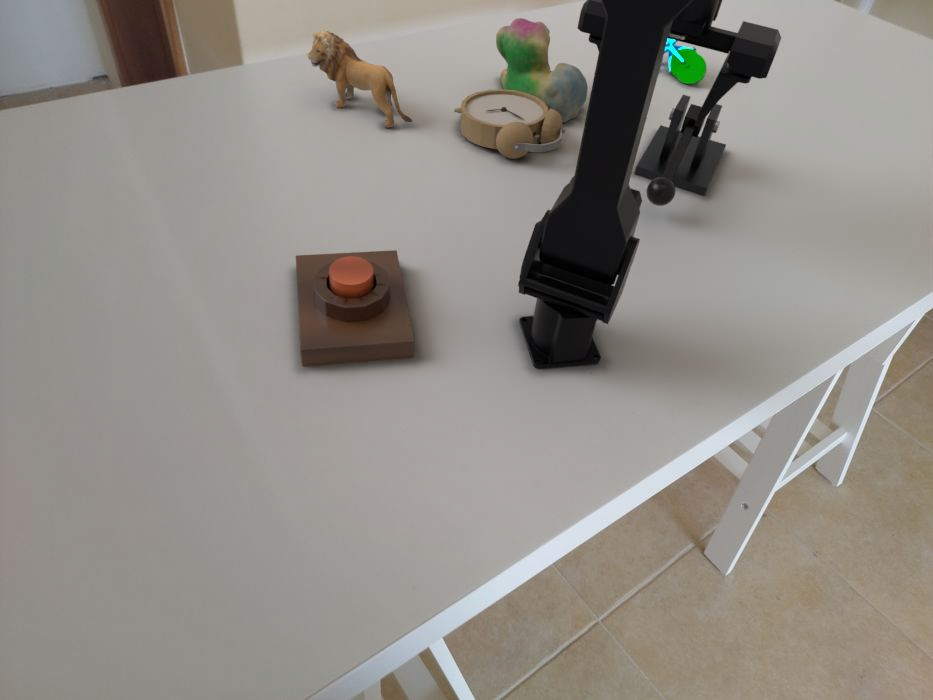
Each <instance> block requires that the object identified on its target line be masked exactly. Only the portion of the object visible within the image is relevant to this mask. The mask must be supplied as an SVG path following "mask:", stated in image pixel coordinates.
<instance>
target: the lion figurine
mask: <svg viewBox="0 0 933 700" xmlns="http://www.w3.org/2000/svg"><path fill="white" fill-rule="evenodd" d="M311 45H312V47H311V50H310V51H309V52H308V53H307V55H306V56H307V58H308V60H309V61H310V62H311V67H314V68H316V67H318V68H319V70H320V71H322V72H323V73H325V74H326V77H327V79H328V80H331V81H333V82H335V86H336V87H335V88H336V91H337V94H338V97H339V100H336V101H335V103H334V106H335V107H336V108H340V109H341V108H344V107H346V106H347V103H348V102H347V100H351V99H353V98H354V94H355V93H354V91H355V88H356V89H357V90H361V91H364V92H366V91H371V95H372V97H373V100H374V101H375V103H376V105H377V107H378V108H379V109H380V111H381V112H382V113H383V114H384V115H385V117H386V119H384V121H383V126H384V127H385V128H388V129H389V128H391V127H393V126H394V124H395V118H394V113H393V111H392V108H393V103H394V106H395V109H396V112H397V113H398V115H399V117H401V119H402V120H403V121H404V122H405V123H412V122H413V119H412V118H411V117H410V116H408V115H407V114H404V113H403V111H402V109H401V106H400V103H399V100H398V94H397V89H396V87H395V83H394V77H393V74H392V73H391V71H390V70H389V69H388V68H387V67H386V66H385V65H384V66H383V65H382V64H381V65H379V64H374V63H371V62H367V61H365V60H363V59H361V58H359V56H358V55H357V54H356V52H355V50H354V49H353V47H352V46H351V45H350V44H349V43H348V42H346V41H345V40H344V38H342V37H340V36H339V35H336V34H334V32H330V31H329V30H328V31H327V30H320V31H318V32H315V33H312V43H311ZM392 100H393V102H392Z"/></svg>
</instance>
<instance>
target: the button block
mask: <svg viewBox="0 0 933 700" xmlns="http://www.w3.org/2000/svg"><path fill="white" fill-rule="evenodd" d="M349 256H353V257H360V258H363V259H365V260H367V261H368V262H369V263H370V264H371V265H372V267H373V280H374V285H373V289H372V291H371V292H370V293H369V294H367V295H365V296H363V297H361V298H350V299H346V298H343V297H340V296H337V295H336V294H334V293H333V292H332V290H331V288H330V280H329V268H330V266H331V264H332V263H333V262H334V261H336V260H338V259H340V258H343V257H349ZM295 273H296V291H297V292H296V293H297V309H298V310H297V313H298V330H299V331H298V332H299V333H298V334H299V350H300V351H299V352H300V359H301V366H302V367H312V366H313V367H314V366H324V365H336V364H350V363H362V362H363V363H364V362H374V361H388V360H400V359H412V358H414V357H415V336H414V330H413V327H412V326H413V325H412V322H411V316H410V312H409V306H408V301H407V296H406V291H405V287H404V286H405V285H404V281H403V276H402V271H401V266H400V261H399V255H398V251H397V250H395V249H394V250H379V251H378V250H377V251H376V250H375V251H373V250H372V251H356V252H338V253H336V252H335V253H318V254H298V255H297V254H296V255H295Z"/></svg>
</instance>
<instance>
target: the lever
mask: <svg viewBox="0 0 933 700" xmlns="http://www.w3.org/2000/svg"><path fill="white" fill-rule="evenodd" d="M701 107H702V106H701V105H697V104H693V103H691V104H690V105H689V107H688V108H687V110H686V113H685V116H684V119H683V122H682V125H681V128H680V132H681V133H683V134H682V136H681V138H680V140H679V142H678V144H677V146H676V149H675V151H674V153H673V155H672V157H671V159H670V161H669V163H668V165H667V167H666V170H665V172H664V174H663V176H662V177H658V178H655V179H653V180H651V181H650V182H649V183H648V185H647V187H646V190H645V191H646V198H647V199H648V201H649V202H650V203H651V204H652V205H654V206H659V207H663V206H667V205H668V204H670V203H671V202H672V201H673V200H674V199H675V196H676V190H677V189H676V187H675V185H674V183H673V182H672V179H673V177H674V175H675V173H676V170H677V168H678V166H679V164H680V162H681V160H682V157H683V155H684V153H685V151H686V149H687V147H688V145H689V142H690V140H691V138H692V136H694V137H698V136H699V135H700V133H701V131H702V130H703V129H702V128H703V127H704V125H705V122H706V119H707V116H706V117H705V119H704V120H703V121H702V122H701V124H700V125H699V126H696V125H695V123H696V120H697V117H698V114H699V112H700V110H701Z"/></svg>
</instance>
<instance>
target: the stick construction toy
mask: <svg viewBox="0 0 933 700" xmlns="http://www.w3.org/2000/svg"><path fill="white" fill-rule="evenodd" d="M677 42H678V41H677V40H673V39H669V38H668V40H667V44H666V48H665V51H664V55H665V54H666V53H667V61H668V71H667V72H668V73H669V75H673V76H674V77H675V78H677V80H678V81H679V82H680V83H682V84H683V85H694V84H697V83H700V82H702V81H703V80H704V78H705V76H706V73H707V62H706V60H705V58H704V57H703V56H702V55H701V54H699V53H698V52H697V48H696V47H695V46H691V47H690V46H684V45H677Z"/></svg>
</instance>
